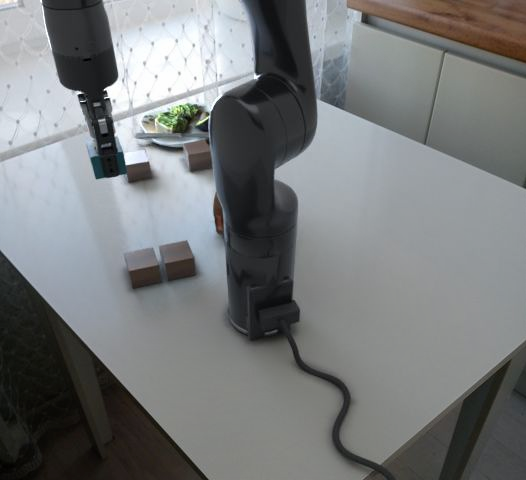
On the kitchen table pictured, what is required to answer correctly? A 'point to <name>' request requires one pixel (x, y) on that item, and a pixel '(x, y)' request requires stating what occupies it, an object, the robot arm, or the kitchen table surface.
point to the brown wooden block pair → (147, 268)
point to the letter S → (97, 163)
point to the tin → (218, 215)
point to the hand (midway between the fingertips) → (108, 166)
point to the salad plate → (176, 125)
